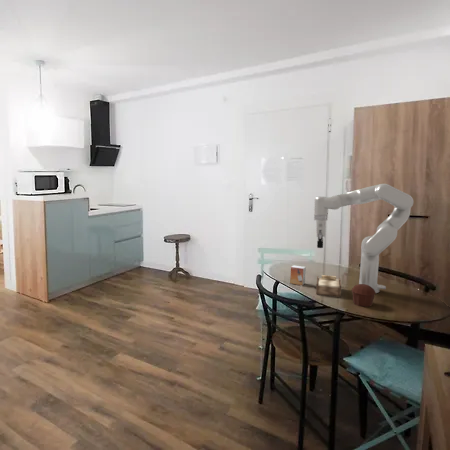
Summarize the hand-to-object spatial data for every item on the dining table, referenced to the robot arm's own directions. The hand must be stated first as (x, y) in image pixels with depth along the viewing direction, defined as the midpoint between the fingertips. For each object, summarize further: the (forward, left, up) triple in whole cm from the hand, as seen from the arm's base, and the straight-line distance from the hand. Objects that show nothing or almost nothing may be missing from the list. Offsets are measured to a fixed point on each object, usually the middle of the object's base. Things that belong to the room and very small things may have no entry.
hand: (320, 246), depth 206 cm
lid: (-6, +11, -19) cm, 23 cm away
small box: (+12, 0, -24) cm, 27 cm away
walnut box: (-6, +10, -24) cm, 27 cm away
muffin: (-23, +25, -24) cm, 42 cm away
